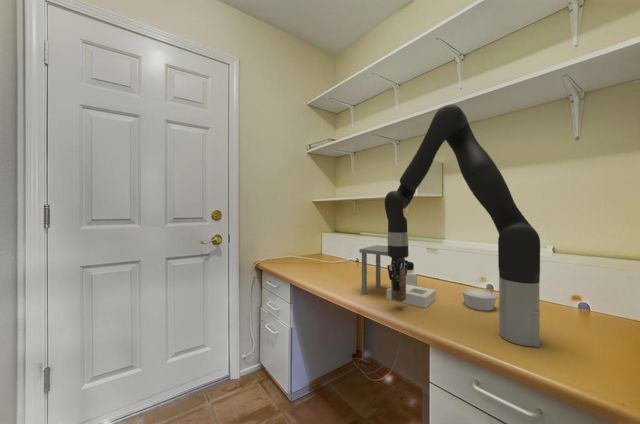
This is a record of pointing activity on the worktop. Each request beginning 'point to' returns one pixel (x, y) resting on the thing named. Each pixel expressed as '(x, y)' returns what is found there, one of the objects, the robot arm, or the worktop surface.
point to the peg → (400, 287)
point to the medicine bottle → (411, 275)
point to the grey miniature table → (378, 251)
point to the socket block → (417, 296)
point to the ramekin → (479, 299)
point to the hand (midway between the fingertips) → (398, 289)
